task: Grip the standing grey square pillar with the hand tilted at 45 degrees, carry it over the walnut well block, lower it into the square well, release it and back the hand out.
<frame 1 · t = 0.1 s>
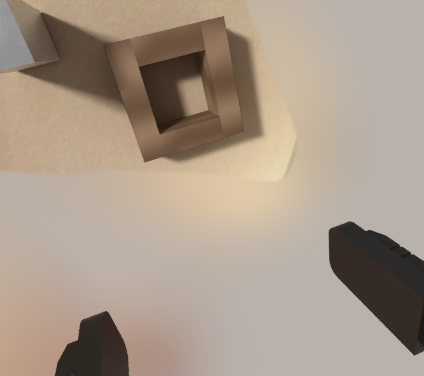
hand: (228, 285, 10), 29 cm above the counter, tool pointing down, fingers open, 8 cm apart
well block: (174, 89, 35), on the counter
grey square pillar: (27, 41, 29), on the counter
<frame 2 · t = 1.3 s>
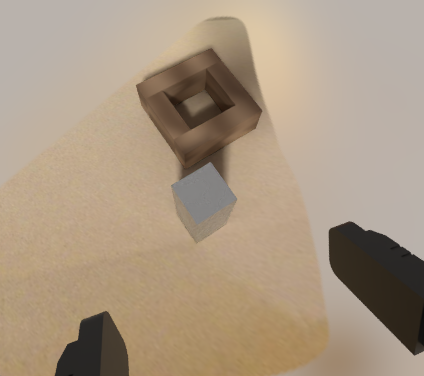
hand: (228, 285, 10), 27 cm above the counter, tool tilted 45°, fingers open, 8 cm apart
well block: (198, 116, 43), on the counter
grey square pillar: (201, 219, 38), on the counter
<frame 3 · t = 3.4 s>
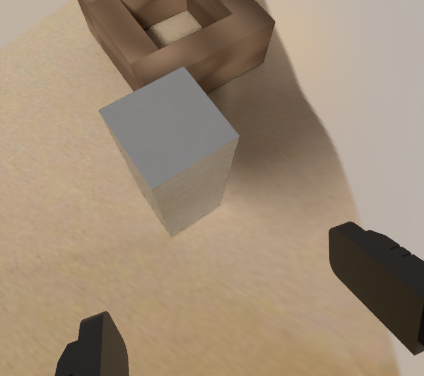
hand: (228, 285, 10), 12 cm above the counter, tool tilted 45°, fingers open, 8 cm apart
well block: (176, 46, 28), on the counter
grey square pillar: (180, 197, 23), on the counter
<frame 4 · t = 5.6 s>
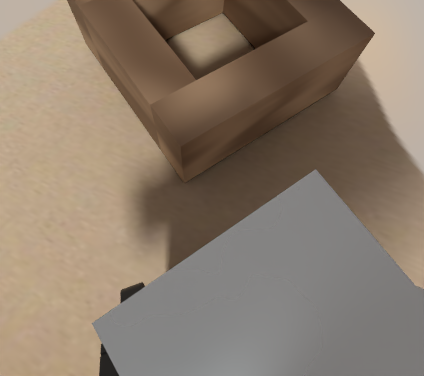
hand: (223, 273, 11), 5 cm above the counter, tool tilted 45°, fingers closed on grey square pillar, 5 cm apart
well block: (210, 66, 20), on the counter
grey square pillar: (227, 314, 15), on the counter, touching gripper
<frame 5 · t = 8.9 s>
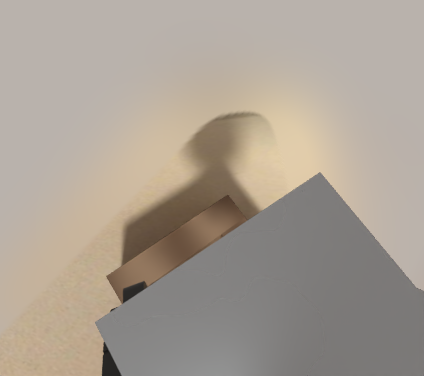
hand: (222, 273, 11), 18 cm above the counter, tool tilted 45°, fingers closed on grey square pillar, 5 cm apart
well block: (209, 294, 28), on the counter
grey square pillar: (228, 315, 15), point 13 cm above the counter, touching gripper
when the fingers open (6 cm above the counter, at t = 11.8 s): grey square pillar drops 1 cm, resting in well block.
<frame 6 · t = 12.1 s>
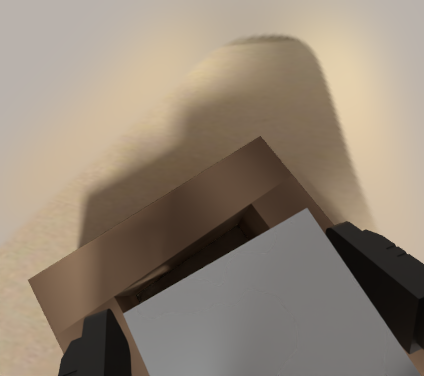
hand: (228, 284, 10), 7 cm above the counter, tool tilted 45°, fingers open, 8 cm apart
well block: (224, 312, 16), on the counter
grey square pillar: (225, 316, 16), resting in well block
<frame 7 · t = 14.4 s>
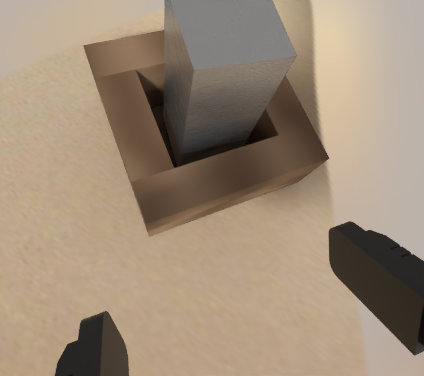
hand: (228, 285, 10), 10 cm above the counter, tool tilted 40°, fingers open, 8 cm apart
well block: (199, 135, 23), on the counter
grey square pillar: (199, 138, 23), resting in well block
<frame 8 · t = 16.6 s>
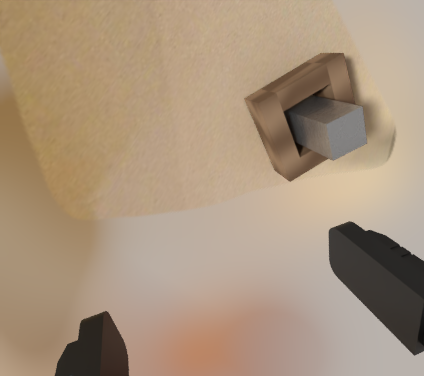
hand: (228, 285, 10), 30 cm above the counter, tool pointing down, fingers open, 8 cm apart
well block: (296, 115, 42), on the counter
grey square pillar: (294, 115, 42), resting in well block
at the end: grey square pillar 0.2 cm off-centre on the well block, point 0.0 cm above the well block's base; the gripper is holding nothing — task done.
